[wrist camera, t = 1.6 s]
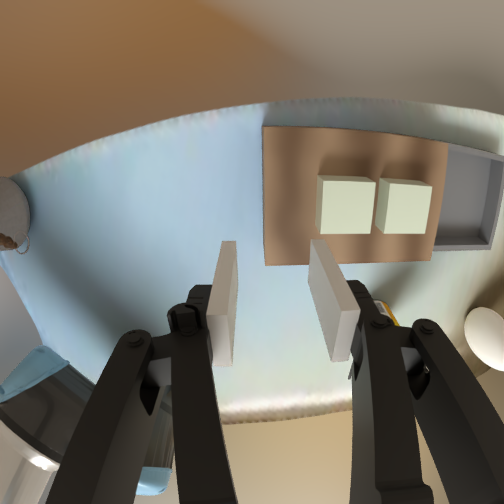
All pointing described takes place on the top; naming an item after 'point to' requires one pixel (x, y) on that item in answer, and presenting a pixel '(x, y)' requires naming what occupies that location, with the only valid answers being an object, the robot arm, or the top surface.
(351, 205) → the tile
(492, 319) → the air blower bulb
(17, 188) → the coffee pot
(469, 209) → the box
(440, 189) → the walnut board
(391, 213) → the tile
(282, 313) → the top surface
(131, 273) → the top surface
